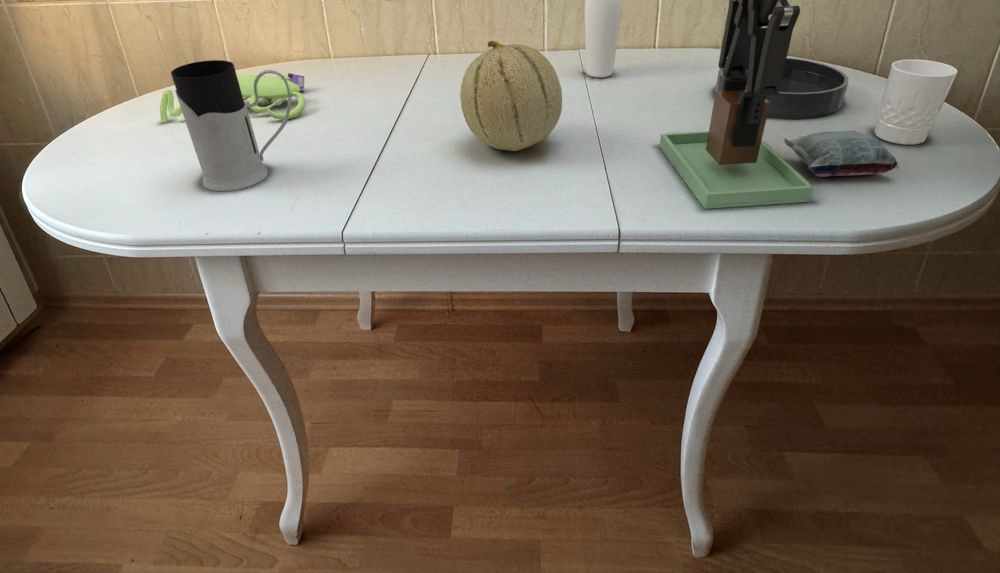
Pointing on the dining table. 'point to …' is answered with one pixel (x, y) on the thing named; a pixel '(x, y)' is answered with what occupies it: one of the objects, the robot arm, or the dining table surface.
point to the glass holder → (222, 124)
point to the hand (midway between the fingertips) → (734, 136)
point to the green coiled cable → (265, 89)
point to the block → (731, 130)
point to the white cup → (913, 100)
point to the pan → (804, 90)
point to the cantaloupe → (511, 97)
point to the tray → (733, 175)
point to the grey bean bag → (842, 153)
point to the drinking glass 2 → (601, 35)
